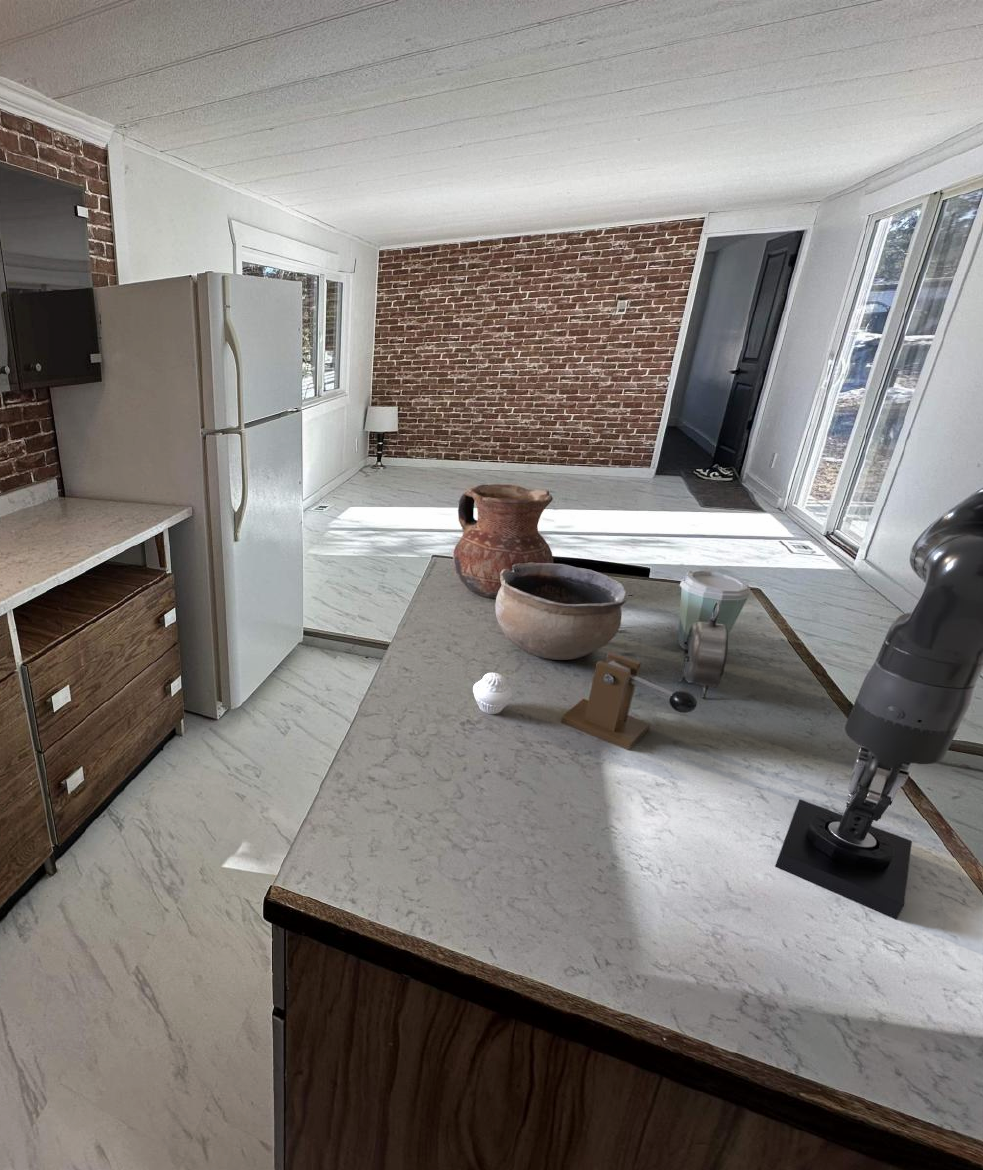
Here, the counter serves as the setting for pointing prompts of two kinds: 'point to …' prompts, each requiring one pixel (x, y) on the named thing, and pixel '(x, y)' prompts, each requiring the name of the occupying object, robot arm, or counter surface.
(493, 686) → the muffin
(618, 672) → the lever bracket
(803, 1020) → the counter surface
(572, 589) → the ceramic bowl
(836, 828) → the grey push button
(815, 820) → the button base
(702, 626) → the alarm clock
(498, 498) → the jug
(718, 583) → the disposable coffee cup
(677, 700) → the ball knob lever
